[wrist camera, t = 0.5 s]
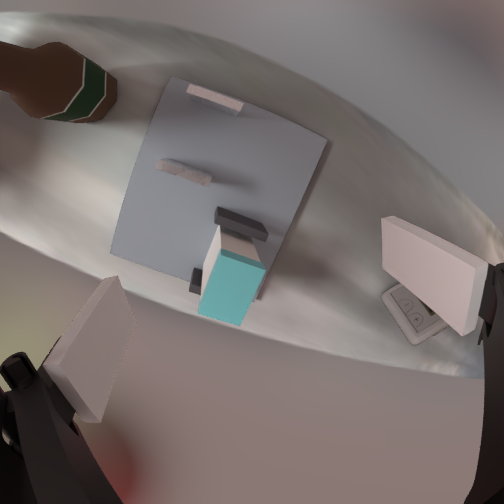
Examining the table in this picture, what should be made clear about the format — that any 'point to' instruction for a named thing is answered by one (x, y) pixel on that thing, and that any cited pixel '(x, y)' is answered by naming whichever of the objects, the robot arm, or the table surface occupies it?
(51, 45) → the beer bottle
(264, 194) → the panel
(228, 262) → the white and teal box
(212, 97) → the port
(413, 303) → the digital clock
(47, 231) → the table surface
